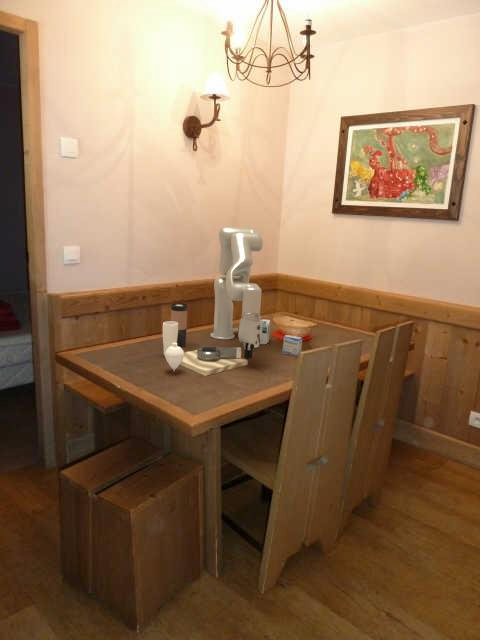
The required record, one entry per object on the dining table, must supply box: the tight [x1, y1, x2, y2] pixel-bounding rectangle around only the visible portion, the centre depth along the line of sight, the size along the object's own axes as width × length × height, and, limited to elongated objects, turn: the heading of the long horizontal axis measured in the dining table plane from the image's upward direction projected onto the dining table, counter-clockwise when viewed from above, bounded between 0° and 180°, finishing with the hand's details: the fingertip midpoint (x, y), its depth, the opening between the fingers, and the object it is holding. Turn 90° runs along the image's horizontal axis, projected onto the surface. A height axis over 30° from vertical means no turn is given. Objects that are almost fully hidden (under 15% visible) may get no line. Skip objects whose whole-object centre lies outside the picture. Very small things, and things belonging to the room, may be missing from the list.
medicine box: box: [282, 334, 303, 357], centre depth 219 cm, size 8×4×9 cm, turn 62°
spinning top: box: [164, 343, 185, 372], centre depth 185 cm, size 8×8×12 cm
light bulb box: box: [259, 318, 271, 345], centre depth 238 cm, size 11×7×11 cm, turn 171°
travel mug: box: [170, 302, 188, 348], centre depth 221 cm, size 8×8×20 cm
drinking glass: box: [162, 320, 178, 357], centre depth 205 cm, size 7×7×15 cm
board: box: [179, 349, 249, 377], centre depth 200 cm, size 24×24×2 cm
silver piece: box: [196, 345, 242, 361], centre depth 200 cm, size 19×10×5 cm, turn 100°
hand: (248, 358), depth 197 cm, fingers closed
